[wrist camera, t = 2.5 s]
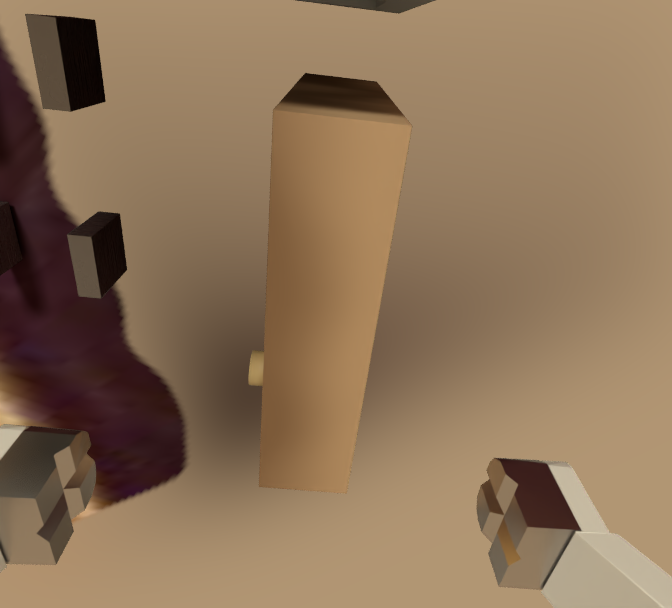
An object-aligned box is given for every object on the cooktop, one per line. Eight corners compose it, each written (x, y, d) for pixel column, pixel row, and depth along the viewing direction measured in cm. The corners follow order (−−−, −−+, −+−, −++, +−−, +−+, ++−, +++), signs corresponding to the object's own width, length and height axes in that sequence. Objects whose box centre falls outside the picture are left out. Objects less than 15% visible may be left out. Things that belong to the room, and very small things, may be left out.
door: (376, 81, 20) (412, 125, 10) (343, 322, 26) (346, 493, 16) (281, 70, 19) (225, 104, 10) (270, 315, 25) (229, 484, 16)
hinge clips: (95, 20, 19) (55, 17, 16) (127, 269, 24) (101, 298, 21) (-68, -1, 18) (-136, -7, 16) (2, 257, 24) (-40, 285, 21)
